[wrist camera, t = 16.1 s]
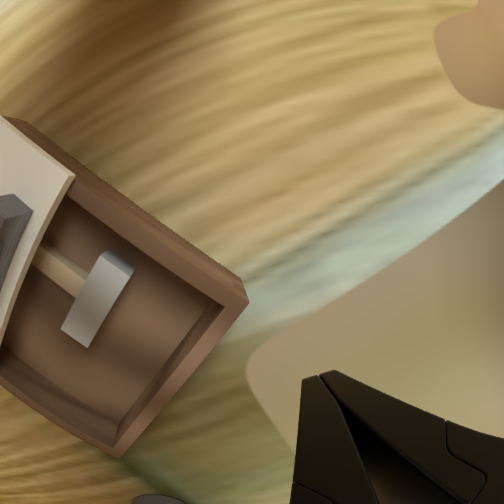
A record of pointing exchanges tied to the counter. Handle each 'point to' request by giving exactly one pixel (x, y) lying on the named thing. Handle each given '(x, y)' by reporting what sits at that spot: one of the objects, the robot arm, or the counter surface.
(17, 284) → the lid
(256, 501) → the counter surface
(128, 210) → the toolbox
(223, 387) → the counter surface
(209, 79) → the counter surface
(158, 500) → the bottle
